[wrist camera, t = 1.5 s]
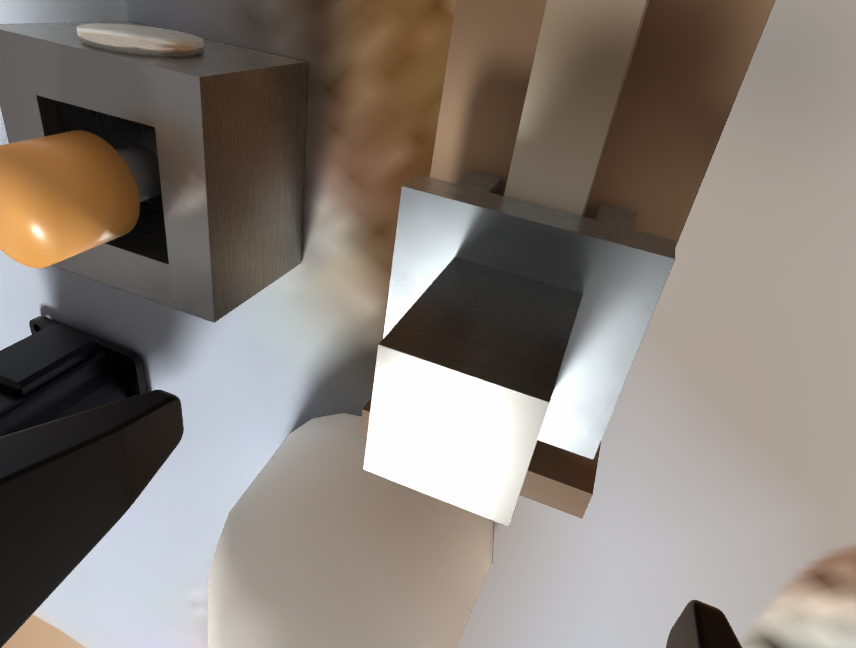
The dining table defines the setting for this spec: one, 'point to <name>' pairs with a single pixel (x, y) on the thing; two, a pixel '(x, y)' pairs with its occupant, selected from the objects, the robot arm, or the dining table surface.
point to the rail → (640, 145)
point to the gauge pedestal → (174, 151)
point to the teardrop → (342, 554)
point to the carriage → (503, 337)
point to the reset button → (70, 194)
